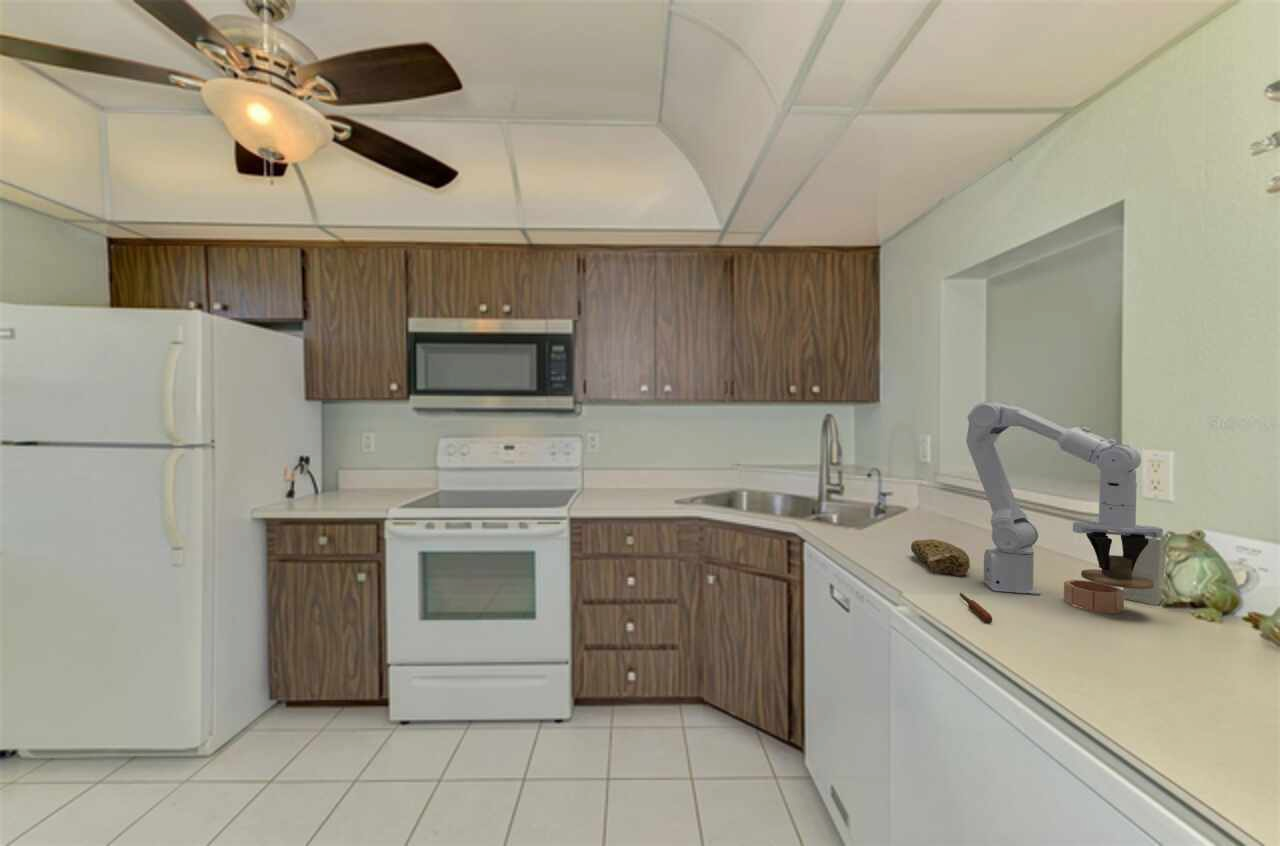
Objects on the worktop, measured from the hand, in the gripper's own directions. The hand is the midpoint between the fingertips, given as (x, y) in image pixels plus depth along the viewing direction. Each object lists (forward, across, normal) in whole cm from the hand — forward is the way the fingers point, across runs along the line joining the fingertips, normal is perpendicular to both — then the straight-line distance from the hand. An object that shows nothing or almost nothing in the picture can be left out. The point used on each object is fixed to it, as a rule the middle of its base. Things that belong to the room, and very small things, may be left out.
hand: (1115, 569), depth 113 cm
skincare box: (+9, +11, +12) cm, 18 cm away
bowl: (+9, -2, +4) cm, 10 cm away
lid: (+2, 0, 0) cm, 2 cm away
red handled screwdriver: (+9, -28, -7) cm, 30 cm away
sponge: (+10, -26, +28) cm, 40 cm away
